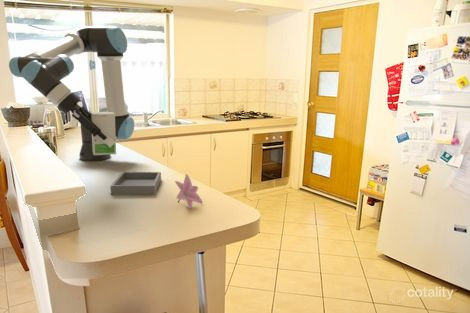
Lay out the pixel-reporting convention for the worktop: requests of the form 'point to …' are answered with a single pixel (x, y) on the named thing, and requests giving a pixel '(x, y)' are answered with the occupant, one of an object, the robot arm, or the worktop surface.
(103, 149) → the skincare box
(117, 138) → the robot arm
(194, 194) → the lily
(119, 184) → the tray
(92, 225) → the worktop surface
